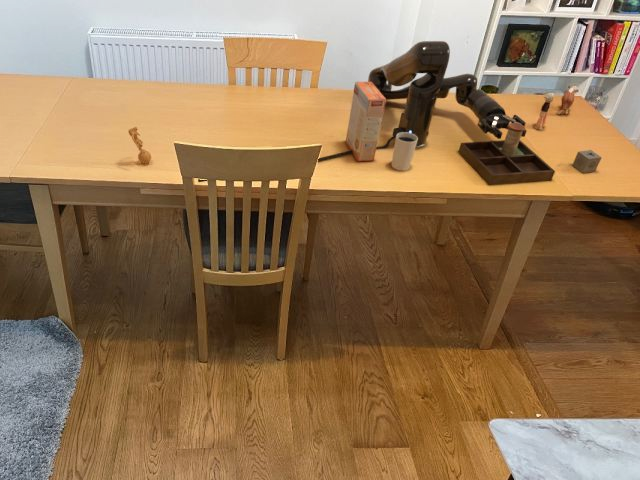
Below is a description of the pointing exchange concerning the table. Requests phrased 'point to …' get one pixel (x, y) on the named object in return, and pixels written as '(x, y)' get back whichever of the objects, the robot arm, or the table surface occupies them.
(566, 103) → the bull figurine
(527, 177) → the grid
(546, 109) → the grandmother figurine
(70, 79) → the table surface
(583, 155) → the gray cube
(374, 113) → the cracker box
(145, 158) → the figurine
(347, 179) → the table surface
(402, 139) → the white cup
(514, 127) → the lidded canister
